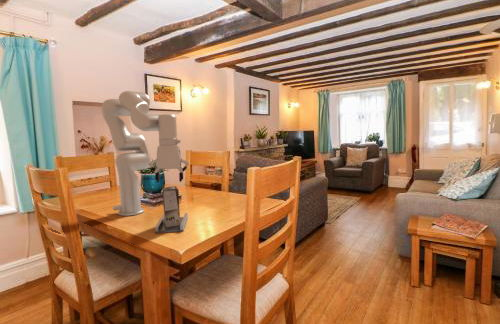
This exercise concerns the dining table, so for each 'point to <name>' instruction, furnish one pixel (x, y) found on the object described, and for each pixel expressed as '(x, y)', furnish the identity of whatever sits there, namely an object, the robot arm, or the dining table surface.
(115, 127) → the robot arm
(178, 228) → the floor track
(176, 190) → the coffee box
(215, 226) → the dining table surface
